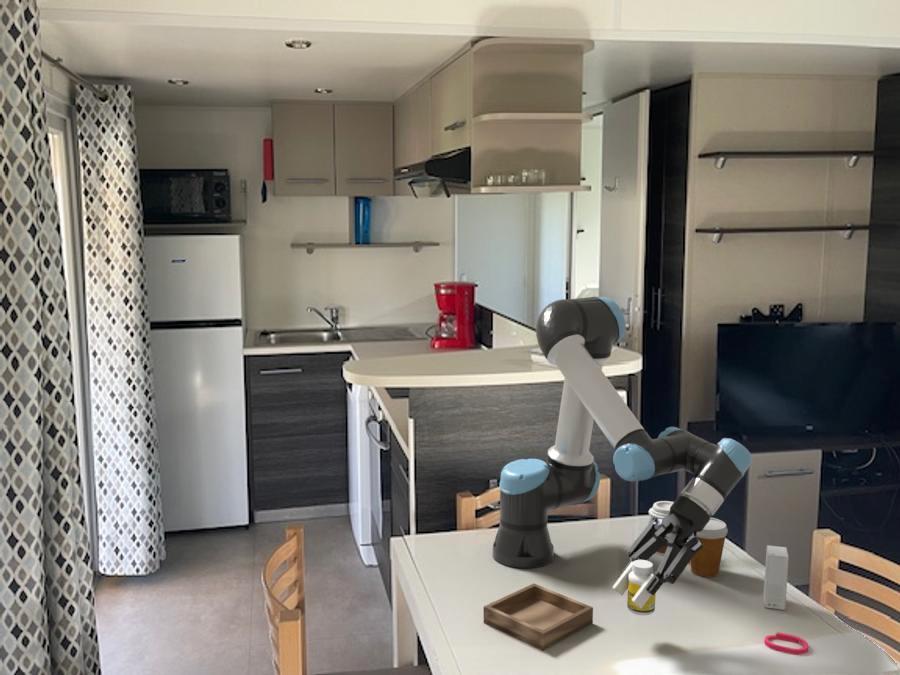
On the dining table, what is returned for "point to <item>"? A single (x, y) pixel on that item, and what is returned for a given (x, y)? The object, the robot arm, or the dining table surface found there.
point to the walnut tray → (538, 616)
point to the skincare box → (776, 577)
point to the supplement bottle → (635, 582)
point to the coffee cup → (661, 517)
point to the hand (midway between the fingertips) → (626, 597)
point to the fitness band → (787, 638)
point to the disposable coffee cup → (709, 549)
